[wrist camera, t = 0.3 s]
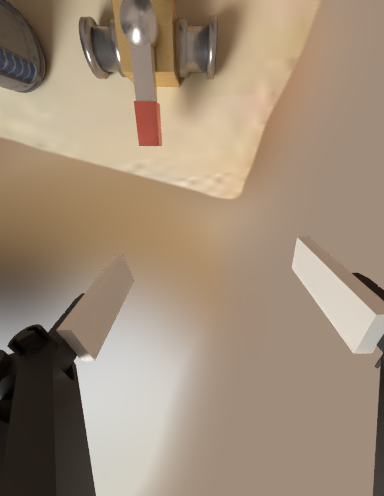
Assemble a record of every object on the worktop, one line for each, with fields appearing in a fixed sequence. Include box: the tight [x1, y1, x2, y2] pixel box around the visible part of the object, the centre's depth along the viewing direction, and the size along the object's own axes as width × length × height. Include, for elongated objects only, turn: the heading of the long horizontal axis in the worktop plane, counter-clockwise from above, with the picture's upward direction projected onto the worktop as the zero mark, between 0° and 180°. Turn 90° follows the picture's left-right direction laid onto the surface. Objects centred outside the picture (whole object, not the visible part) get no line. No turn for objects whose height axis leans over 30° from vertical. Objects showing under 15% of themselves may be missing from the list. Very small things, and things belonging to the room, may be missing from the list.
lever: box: [120, 0, 162, 146], centre depth 23 cm, size 14×4×2 cm, turn 179°
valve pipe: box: [79, 0, 218, 87], centre depth 25 cm, size 18×7×8 cm, turn 89°
